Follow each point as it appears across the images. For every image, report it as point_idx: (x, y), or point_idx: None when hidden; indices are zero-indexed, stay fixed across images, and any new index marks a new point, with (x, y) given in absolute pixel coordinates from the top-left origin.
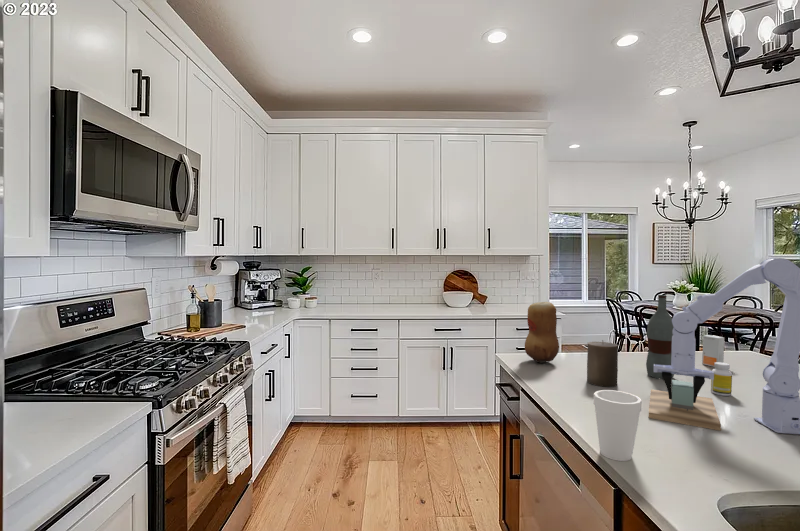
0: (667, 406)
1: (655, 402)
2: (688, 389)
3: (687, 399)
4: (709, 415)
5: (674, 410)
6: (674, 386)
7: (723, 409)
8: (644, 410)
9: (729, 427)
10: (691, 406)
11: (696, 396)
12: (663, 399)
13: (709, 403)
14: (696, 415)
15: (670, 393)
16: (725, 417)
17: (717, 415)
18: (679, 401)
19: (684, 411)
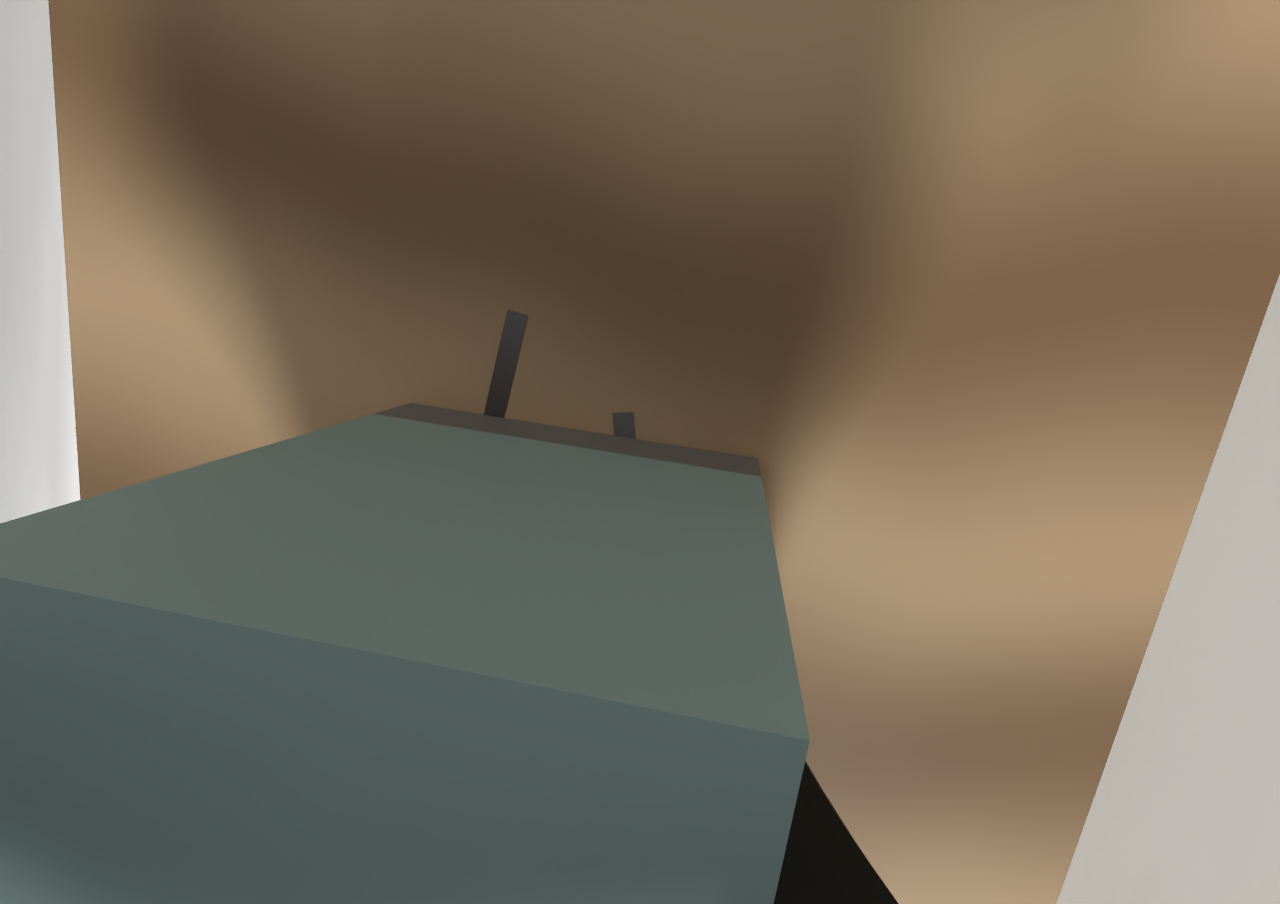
0: (843, 445)
1: (1032, 625)
2: (154, 561)
3: (410, 461)
4: (181, 197)
5: (757, 213)
6: (714, 701)
7: None
8: (1264, 328)
9: (23, 25)
10: (404, 421)
11: None
12: None
13: None
14: (389, 68)
15: None
16: (60, 501)
17: (70, 270)
18: (606, 470)
19: (571, 239)
